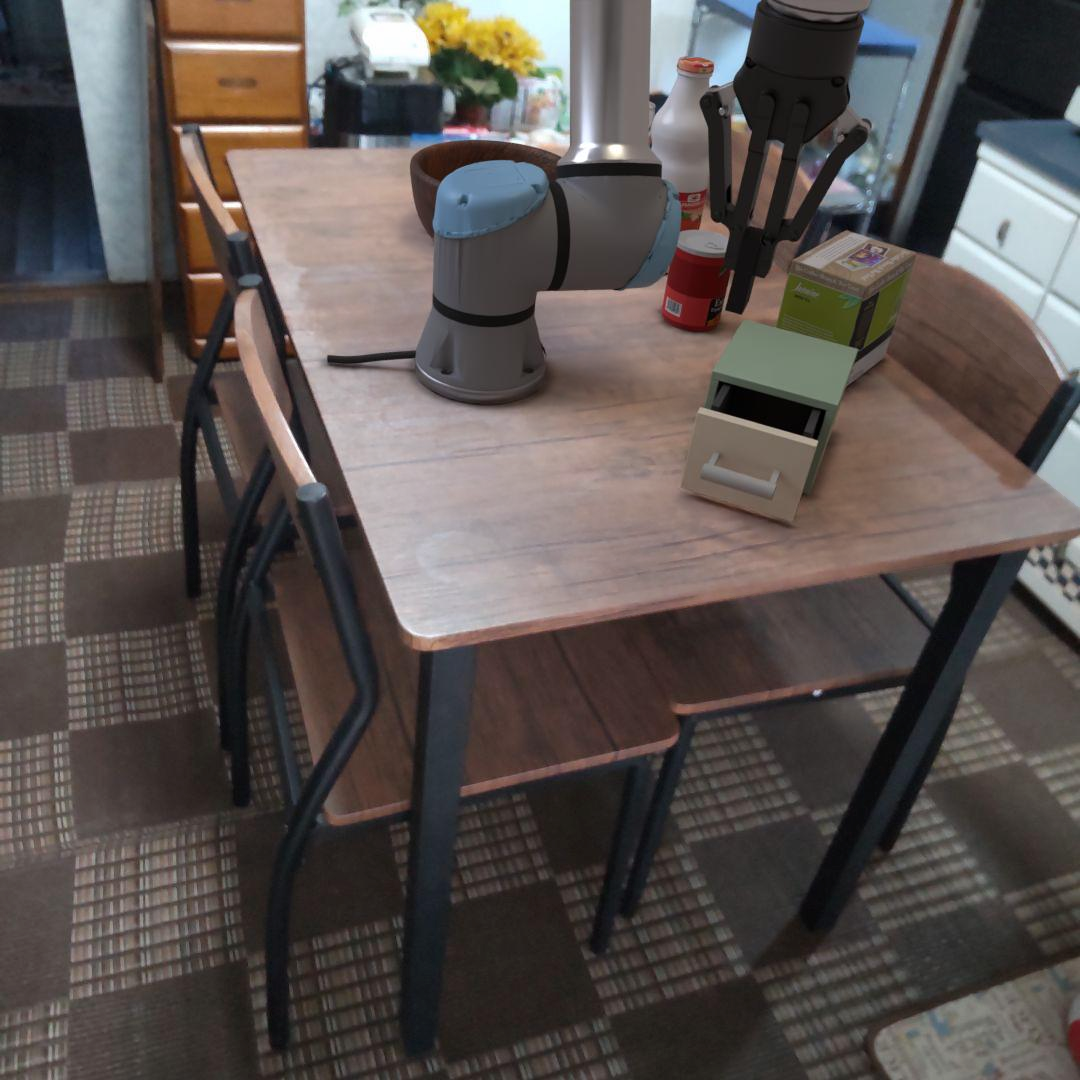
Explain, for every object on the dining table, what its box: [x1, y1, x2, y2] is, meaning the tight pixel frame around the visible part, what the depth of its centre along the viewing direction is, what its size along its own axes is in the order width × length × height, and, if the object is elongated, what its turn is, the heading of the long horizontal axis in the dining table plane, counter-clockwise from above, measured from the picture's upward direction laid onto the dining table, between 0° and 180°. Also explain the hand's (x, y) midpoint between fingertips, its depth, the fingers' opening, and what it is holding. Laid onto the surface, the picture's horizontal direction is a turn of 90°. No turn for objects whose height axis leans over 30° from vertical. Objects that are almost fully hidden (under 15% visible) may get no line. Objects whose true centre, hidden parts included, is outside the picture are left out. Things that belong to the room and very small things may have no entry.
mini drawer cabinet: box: [703, 318, 858, 495], centre depth 107 cm, size 14×13×11 cm
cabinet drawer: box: [680, 382, 823, 523], centre depth 100 cm, size 17×12×9 cm
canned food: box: [661, 229, 732, 332], centre depth 131 cm, size 8×8×11 cm
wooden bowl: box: [409, 139, 562, 240], centre depth 148 cm, size 25×25×10 cm
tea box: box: [775, 229, 918, 387], centre depth 123 cm, size 15×10×15 cm
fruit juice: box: [650, 55, 715, 274], centre depth 141 cm, size 9×9×28 cm
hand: (737, 305), depth 85 cm, fingers closed
